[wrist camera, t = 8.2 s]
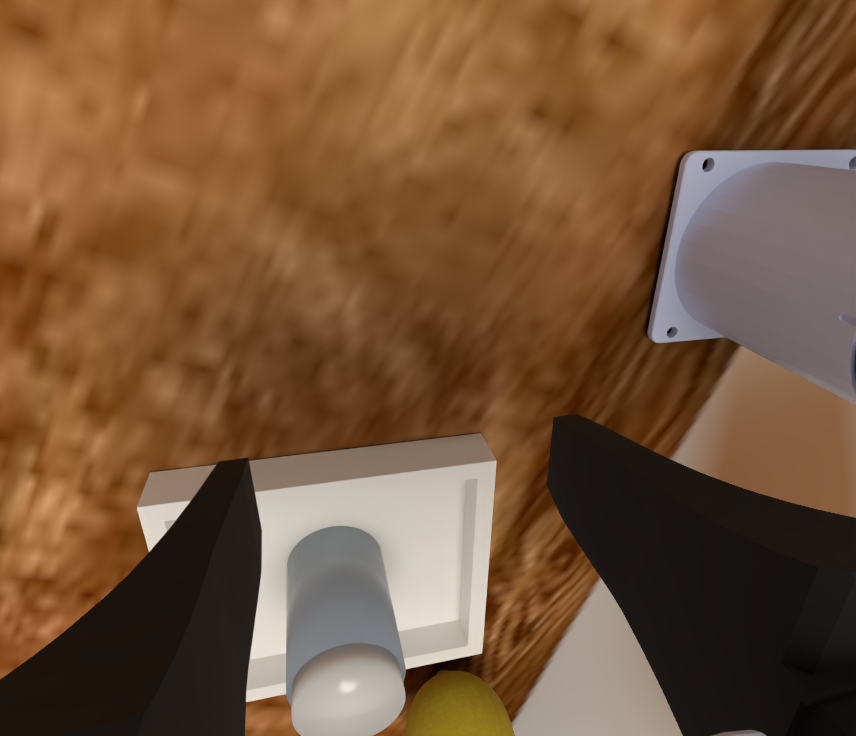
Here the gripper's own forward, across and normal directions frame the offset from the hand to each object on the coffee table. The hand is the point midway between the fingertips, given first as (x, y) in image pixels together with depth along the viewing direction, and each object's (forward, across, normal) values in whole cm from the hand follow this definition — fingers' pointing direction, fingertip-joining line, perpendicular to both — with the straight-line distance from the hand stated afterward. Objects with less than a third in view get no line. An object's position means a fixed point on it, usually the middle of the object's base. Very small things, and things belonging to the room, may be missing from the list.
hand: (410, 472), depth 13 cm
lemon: (+10, -3, +22) cm, 24 cm away
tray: (+10, +2, +12) cm, 15 cm away
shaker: (+9, +2, +12) cm, 15 cm away
